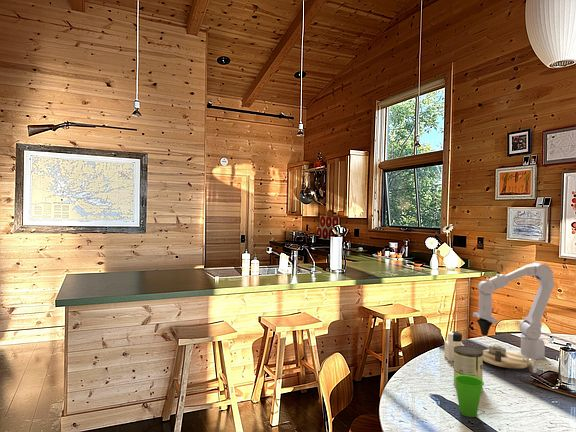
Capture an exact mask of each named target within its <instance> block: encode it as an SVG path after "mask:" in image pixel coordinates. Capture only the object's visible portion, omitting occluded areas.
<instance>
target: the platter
mask: <svg viewBox="0 0 576 432" xmlns="http://www.w3.org/2000/svg"><path fill="white" fill-rule="evenodd" d="M482 351H483V361H484V362H485V363H487V364H490V365H493V366H497V367H501V368H507V369H526V368H527V369H528V368H529V366H528V365H527V362H526V361H524V360H522V359H525V360H527V359H529V358H528V357H526V356H524V355H521V354H519V353H520V352H514V351H510V350H506V355H505V356H501V351H495V355H492V354H490V353H489V348H487V349H484V350H482Z"/></svg>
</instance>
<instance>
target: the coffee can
mask: <svg viewBox="0 0 576 432" xmlns="http://www.w3.org/2000/svg"><path fill="white" fill-rule="evenodd" d="M483 365H484V363H483V350H482V349H481V348H479V347H475V346H470V345H464V346H456V347H454V361H453V378H454V377H455V376H457V375H470V376H474V377H477V378H480V379H481V380H483V372H484V369H483V368H484V367H483ZM453 386H454V387H455V388H456V382H455V380H454V379H453ZM482 390H483V387H482Z"/></svg>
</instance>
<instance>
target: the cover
mask: <svg viewBox="0 0 576 432" xmlns="http://www.w3.org/2000/svg"><path fill="white" fill-rule="evenodd" d="M488 349H489V353H490V354H492V355H495V351H501V356H505V355H506V351H507V349H506V348H504V347H502V346H501V345H497V344H496V345H490V346H488Z"/></svg>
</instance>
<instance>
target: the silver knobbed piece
mask: <svg viewBox="0 0 576 432" xmlns="http://www.w3.org/2000/svg"><path fill="white" fill-rule="evenodd" d="M522 360H524V361H526V362H527V365H528V366H529V367H528V372H530V373H532V374H536V373H538V360H537V359H527V360H525V359H522Z"/></svg>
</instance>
